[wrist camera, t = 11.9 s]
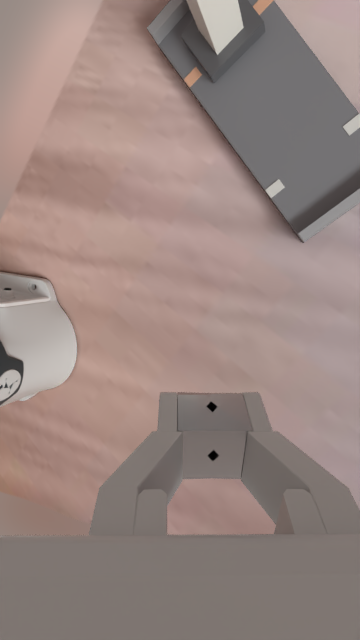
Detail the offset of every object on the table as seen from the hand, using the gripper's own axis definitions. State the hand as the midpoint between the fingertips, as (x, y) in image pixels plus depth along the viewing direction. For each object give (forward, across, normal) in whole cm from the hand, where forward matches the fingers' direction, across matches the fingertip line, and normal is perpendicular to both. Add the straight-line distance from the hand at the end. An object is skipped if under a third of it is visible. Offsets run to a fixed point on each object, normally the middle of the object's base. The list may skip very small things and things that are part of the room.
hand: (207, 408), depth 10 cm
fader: (+33, -3, -16) cm, 37 cm away
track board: (+32, -8, -11) cm, 35 cm away
